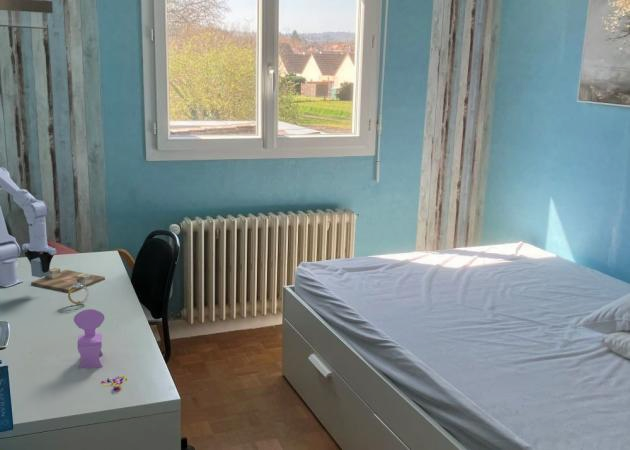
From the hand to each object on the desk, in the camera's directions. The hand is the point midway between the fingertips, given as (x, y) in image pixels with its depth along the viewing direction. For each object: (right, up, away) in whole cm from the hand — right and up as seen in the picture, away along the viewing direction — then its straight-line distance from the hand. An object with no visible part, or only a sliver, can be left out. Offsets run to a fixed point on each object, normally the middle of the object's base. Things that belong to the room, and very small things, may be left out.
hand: (40, 270), depth 243 cm
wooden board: (+5, -5, +15) cm, 17 cm away
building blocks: (+47, -26, -65) cm, 84 cm away
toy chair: (+36, -23, -52) cm, 68 cm away
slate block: (0, -2, 0) cm, 2 cm away
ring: (+17, -11, -8) cm, 22 cm away
